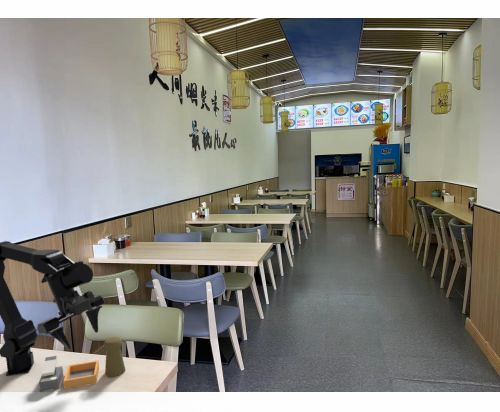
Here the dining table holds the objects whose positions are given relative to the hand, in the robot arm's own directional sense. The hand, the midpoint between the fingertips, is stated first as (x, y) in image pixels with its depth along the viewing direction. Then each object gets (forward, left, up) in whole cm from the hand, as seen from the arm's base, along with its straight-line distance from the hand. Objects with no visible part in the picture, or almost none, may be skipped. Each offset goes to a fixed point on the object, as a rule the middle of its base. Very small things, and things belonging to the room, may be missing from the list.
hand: (83, 340), depth 114 cm
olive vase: (+8, +2, -13) cm, 15 cm away
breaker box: (-10, +2, -13) cm, 16 cm away
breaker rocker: (-10, +2, -8) cm, 13 cm away
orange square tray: (-2, +2, -13) cm, 13 cm away
